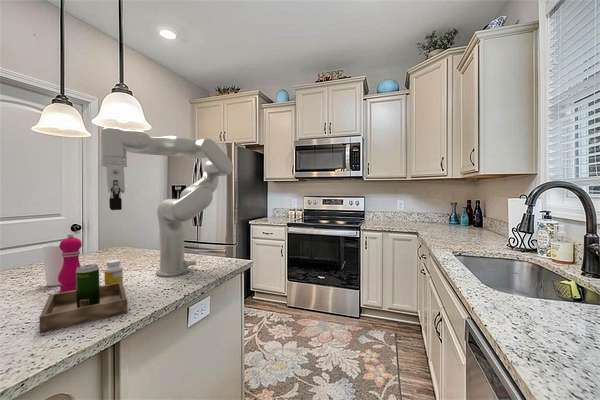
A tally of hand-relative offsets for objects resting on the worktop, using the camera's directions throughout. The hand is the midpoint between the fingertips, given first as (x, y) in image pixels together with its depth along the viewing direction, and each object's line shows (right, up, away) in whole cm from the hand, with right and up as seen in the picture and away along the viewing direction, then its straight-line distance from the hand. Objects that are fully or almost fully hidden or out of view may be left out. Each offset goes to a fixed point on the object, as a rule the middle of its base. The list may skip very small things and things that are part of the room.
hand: (115, 209), depth 98 cm
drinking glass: (-23, -28, +2) cm, 37 cm away
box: (+6, -29, -20) cm, 36 cm away
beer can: (+6, -28, -20) cm, 35 cm away
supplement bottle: (0, -29, -1) cm, 29 cm away
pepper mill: (-13, -29, -3) cm, 32 cm away
